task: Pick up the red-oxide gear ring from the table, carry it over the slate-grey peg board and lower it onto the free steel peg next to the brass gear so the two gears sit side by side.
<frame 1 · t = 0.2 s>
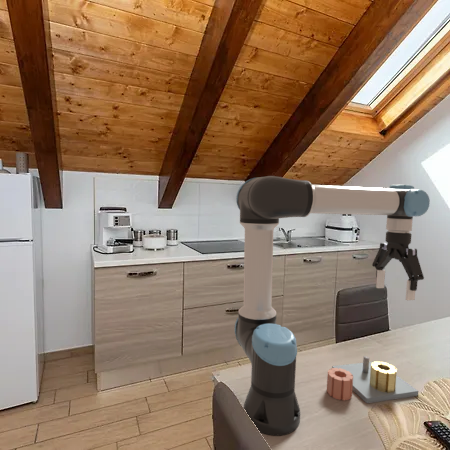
hand: (394, 293, 109), 27 cm above the table, fingers open, 13 cm apart
peg board: (372, 382, 104), on the table
gear brass: (382, 385, 99), point 1 cm above the table, touching peg board
gear red: (339, 392, 97), on the table
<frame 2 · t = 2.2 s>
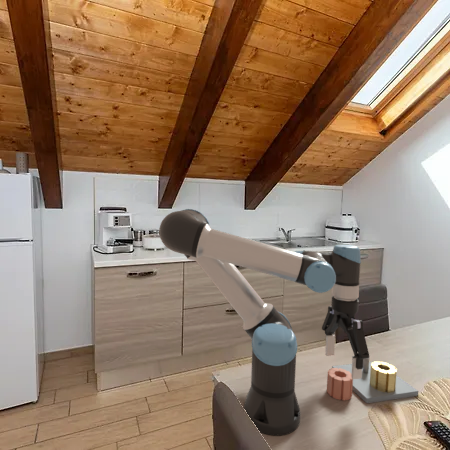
hand: (342, 365, 97), 9 cm above the table, fingers open, 13 cm apart
nothing on the table moved.
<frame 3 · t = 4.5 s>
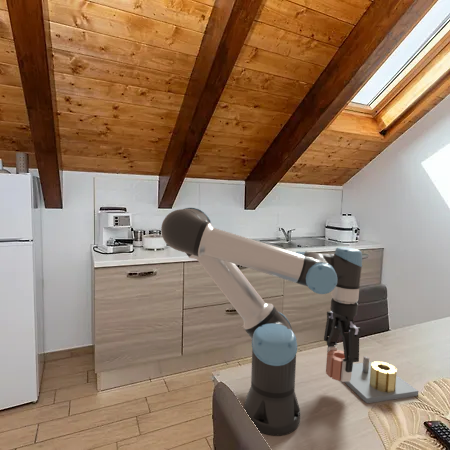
hand: (337, 373, 97), 6 cm above the table, fingers closed on gear red, 7 cm apart
gear red: (338, 374, 97), point 6 cm above the table, touching gripper
everything else where it was.
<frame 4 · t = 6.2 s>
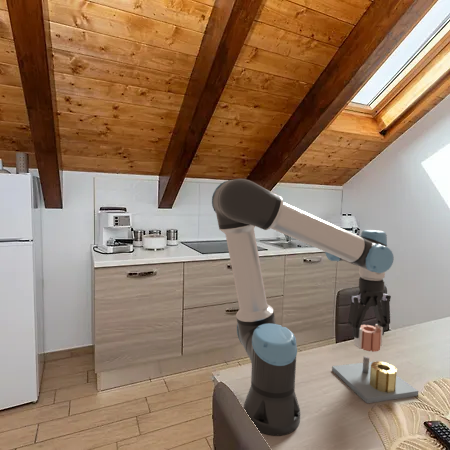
hand: (367, 345, 106), 11 cm above the table, fingers closed on gear red, 7 cm apart
gear red: (368, 346, 106), point 10 cm above the table, touching gripper
everything else where it was.
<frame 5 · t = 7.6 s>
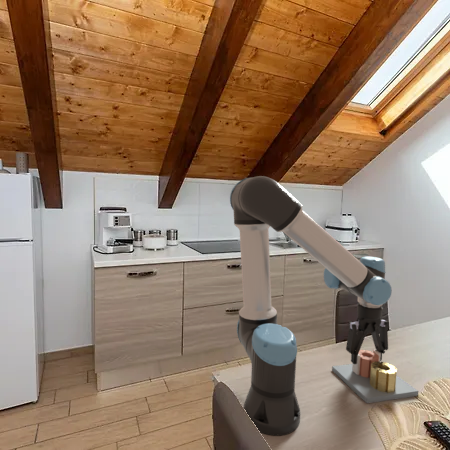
hand: (365, 371, 107), 2 cm above the table, fingers closed on gear red, 7 cm apart
gear red: (366, 372, 107), point 2 cm above the table, touching gripper, peg board
everything else where it was.
when the fingers open (2 cm above the table, at t = 7.8 s): gear red stays where it is, resting on peg board.
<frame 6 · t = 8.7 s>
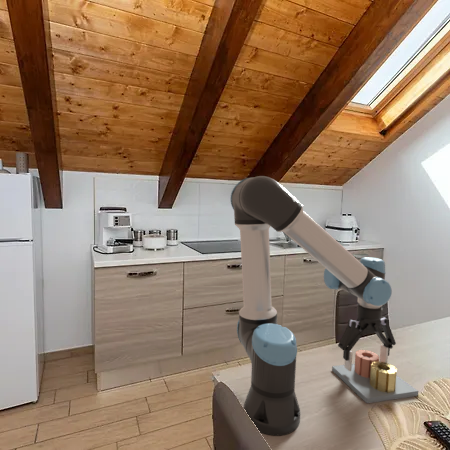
hand: (365, 367, 107), 3 cm above the table, fingers open, 13 cm apart
gear red: (366, 372, 107), point 1 cm above the table, touching peg board
everything else where it was.
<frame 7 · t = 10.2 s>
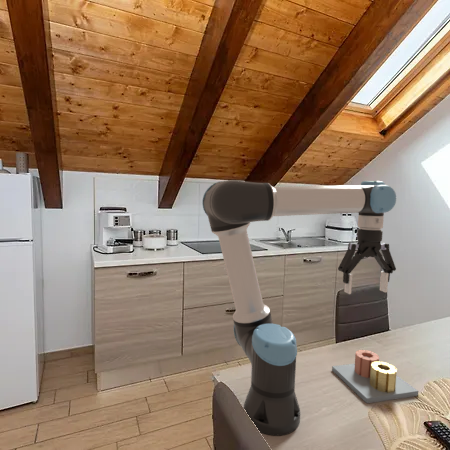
hand: (365, 292, 107), 28 cm above the table, fingers open, 13 cm apart
nothing on the table moved.
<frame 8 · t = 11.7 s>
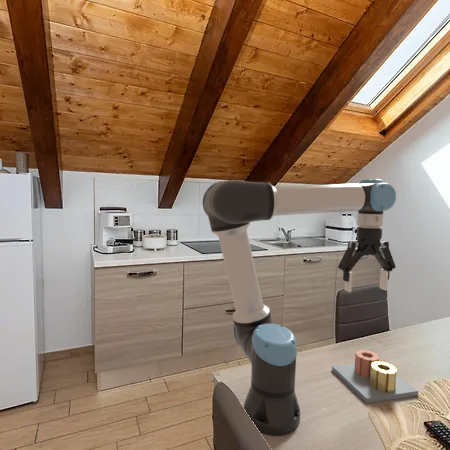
hand: (365, 290, 107), 29 cm above the table, fingers open, 13 cm apart
nothing on the table moved.
at the end: gear red 0.2 cm from the target spot on the peg board, point 1.5 cm above the peg board's base; gear red 7.8 cm from the gear brass (horizontally); gear red tilted 0° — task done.
